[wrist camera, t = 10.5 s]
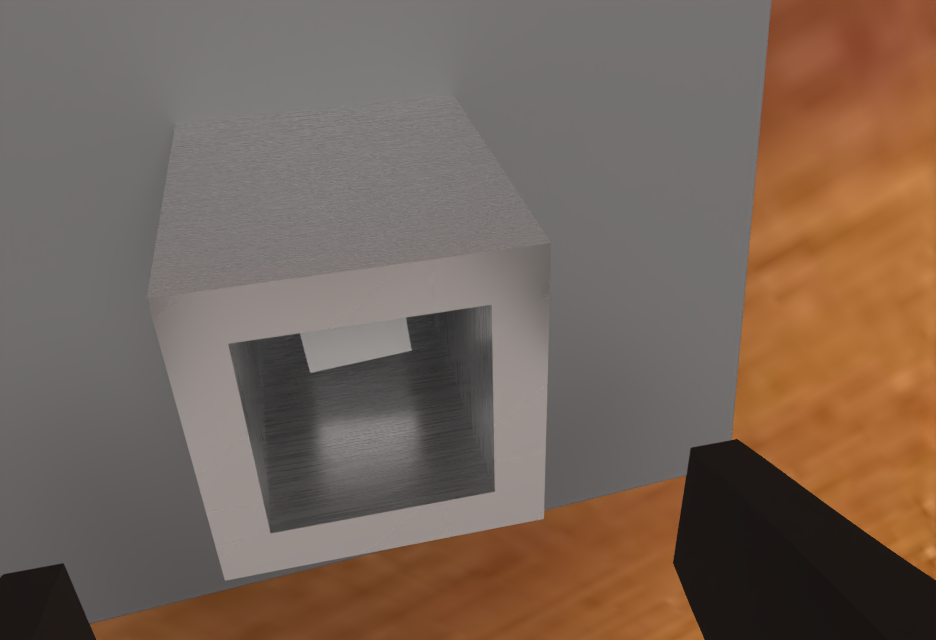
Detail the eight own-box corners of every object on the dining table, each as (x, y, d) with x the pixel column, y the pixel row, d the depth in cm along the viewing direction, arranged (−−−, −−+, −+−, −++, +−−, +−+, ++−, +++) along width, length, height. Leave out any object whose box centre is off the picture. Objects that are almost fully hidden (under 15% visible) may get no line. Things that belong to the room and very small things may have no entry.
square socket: (227, 355, 18) (224, 580, 13) (175, 124, 15) (147, 298, 10) (462, 320, 19) (543, 518, 14) (453, 95, 16) (551, 243, 11)
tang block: (46, 603, 22) (13, 752, 18) (-461, -248, 12) (-735, -251, 8) (712, 440, 24) (787, 547, 21) (773, -387, 14) (940, -434, 11)
